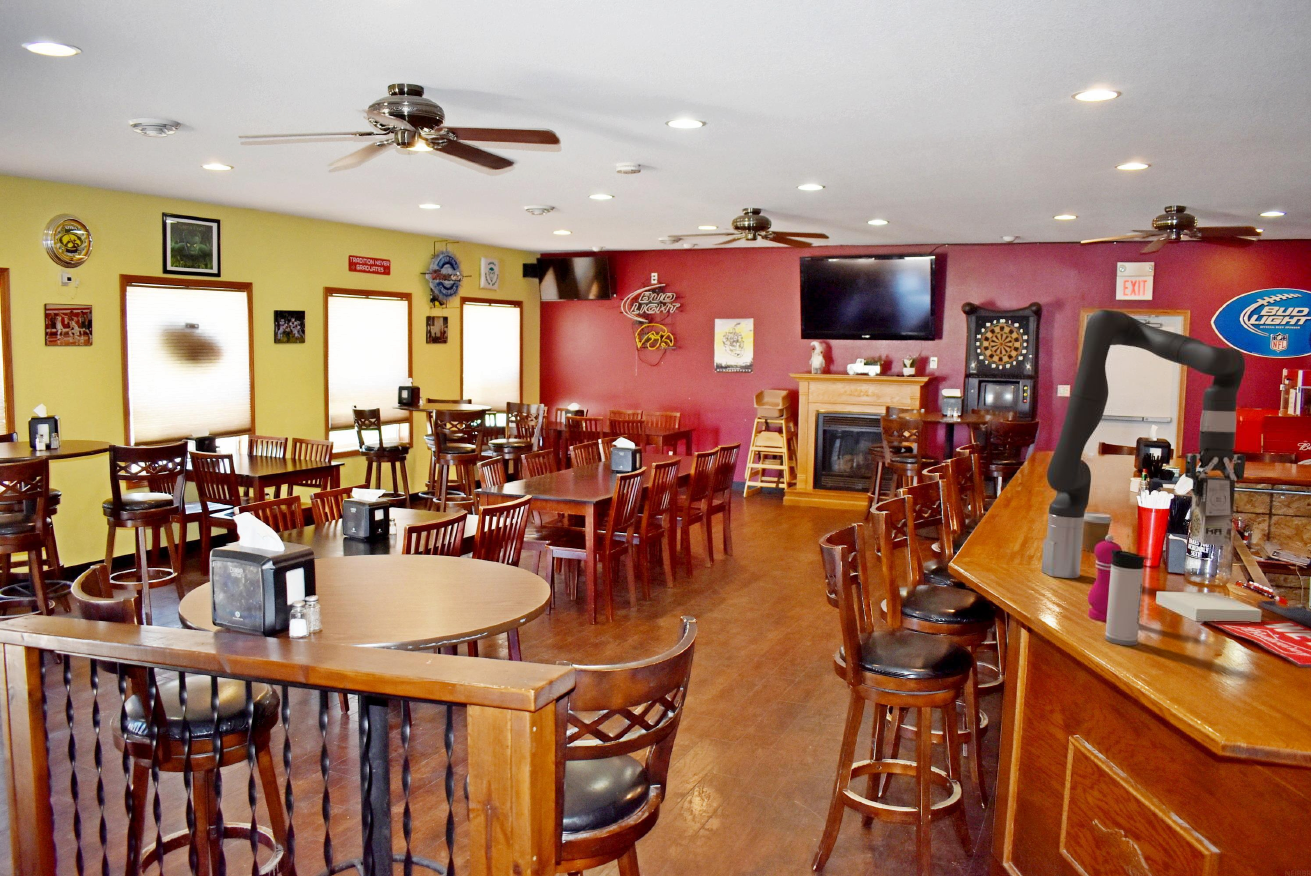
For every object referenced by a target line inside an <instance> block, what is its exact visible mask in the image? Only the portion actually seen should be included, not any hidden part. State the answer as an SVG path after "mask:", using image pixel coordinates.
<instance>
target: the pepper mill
mask: <svg viewBox="0 0 1311 876" xmlns="http://www.w3.org/2000/svg"><path fill="white" fill-rule="evenodd" d="M1114 539H1115V538H1114V536H1113V535H1111V534H1108V535H1107V536H1106V538H1105V540H1106V541H1103V542H1100V543H1098V544H1097V545H1096V547H1095V550H1094V556H1095V558H1096V561H1095V566H1094V567H1096V569H1097V573H1096V579H1095V581H1094V584H1093V585H1092V587H1091V588H1090V589H1089V593H1088V595H1087V602H1088V603H1089V605H1090V606H1091V608H1089V609H1088V617H1089V618H1090V619H1092V620H1095V621H1098V622H1099V621H1100V622H1107V610H1108V597H1109V585H1110V573H1111V564H1112V553H1111V551H1112V550H1120V551H1123V548H1122V547H1121V545H1119V544H1118V543H1117V542H1115V541H1114Z"/></svg>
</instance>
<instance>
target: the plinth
mask: <svg viewBox="0 0 1311 876" xmlns="http://www.w3.org/2000/svg"><path fill="white" fill-rule="evenodd" d="M1155 604H1157V605H1159V606H1161V607H1164V608H1165V609H1167V610H1170V611H1172V612H1174V613H1177V614H1178V615H1181V616H1183V617H1186V618H1188V619H1190V620H1192V621H1195V622H1204V621H1215V620H1217V621H1251V622H1261V621H1262V609H1260V608H1257V607H1255V606H1252V605H1249V604H1247V603H1245V602H1241V601H1239V600H1236V599H1234V598H1231V597H1229V596H1226V595H1224V594H1222V593H1219V592H1198V591H1197V592H1192V591H1189V592H1188V591H1156V597H1155Z"/></svg>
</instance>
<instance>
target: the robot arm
mask: <svg viewBox="0 0 1311 876" xmlns="http://www.w3.org/2000/svg"><path fill="white" fill-rule="evenodd" d="M1117 345H1119V346H1126V347H1127V346H1128V347H1135V348H1138V349H1143V350H1144V351H1148V352H1150V353H1152V354H1153V355H1156V356H1157V357H1159V358H1161V359H1164V360H1167V361H1170V362H1173V363H1177V364H1179V365H1181V366H1186V367H1189V368H1190V369H1192V370H1194V371H1197V372H1199V373H1202V374H1204V375H1207V376H1210V377H1211V376H1212V377H1213V380H1212V383H1211V386H1208V387H1207V388H1205V390H1204V392H1203V398H1202V400H1203V401H1202V411H1201V416H1200V423H1199V425H1200V426H1199V437H1198V438H1199V439H1198V447H1199V451H1198V453H1186V454H1185V465H1184V467H1185V468H1184V470H1185V471H1184V476H1185V478H1188V479H1191V480H1192V490H1191V491H1192V493H1194V496H1198V497H1201V496H1202V492H1203V482H1202V480H1203V479H1204V477H1205V476H1207V475H1208V474H1209V473H1210V472H1215V471H1218V472H1220V473H1221V474H1222V477H1224V478H1228V479H1232V480H1236V481H1235V483H1236V482H1237V481H1238V480H1239V481H1240V480H1243V479H1244V478H1245V470H1246V459H1247V456H1246V455H1245V454H1237V453H1236V454H1234V452H1233V450H1234V449H1235V446H1236V432H1237V399H1238V398H1237V395H1238V392H1239V390H1240V387H1241V385H1242V381H1243V378H1244V375H1245V370H1246V359H1245V357H1244V354H1243V353H1242V352H1241V350H1239V349H1237V348H1232V347H1220V346H1214V345H1210V344H1207V343H1204V342H1203V341H1202V340H1200V339H1197V338H1194V337H1191V336H1188V335H1184V334H1180V333H1177V332H1173V331H1169V330H1165V329H1161V328H1159V327H1158V328H1157V327H1155V326H1152V325H1149V324H1147V323H1144V322H1142V321H1140V320H1138V319H1136V318H1135V317H1132V316H1131V315H1129V314H1127V313H1125V312H1122V311H1118V310H1113V309H1112V310H1111V309H1099V310H1097V311H1095V312H1094V313H1092V314H1091V315H1090V317H1089V318H1088V320H1087V322H1086V326H1085V329H1084V335H1083V343H1082V349H1081V352H1080V353H1081V354H1080V359H1079V363H1078V366H1077V367H1078V368H1077V372H1076V376H1075V379H1074V382H1073V383H1074V384H1073V386H1072V390H1071V393H1070V397H1069V401H1068V404H1067V407H1066V413H1065V415H1064V420H1063V424H1062V426H1061V431H1060V434H1059V437H1058V442H1057V443H1056V447H1055V449H1054V452H1053V454H1052V457H1051V460H1050V462H1049V464H1048V467H1047V470H1046V480H1047V482H1048V485H1049V487H1050V488H1051V489H1052V490H1054V491H1056V495H1055V497H1054V499H1053V500H1052V501H1051V502H1050V504H1049V507H1048V516H1047V517H1048V518H1047V530H1046V531H1047V534H1046V538H1044V539H1043V546H1042V556H1041V557H1042V558H1041V560H1042V561H1041V569H1040V570H1041V572H1042V573H1043V574H1045V575H1048V576H1050V577H1056V578H1065V579H1077V578H1079V577H1080V573H1081V563H1082V562H1081V559H1082V551H1083V547H1082V538H1083V526H1084V513H1085V512H1086V509H1087V507H1088V505H1089V499H1090V493H1091V483H1092V474H1091V473H1092V472H1091V469H1090V466H1089V465H1088V464H1087V462H1086V461H1084V460H1083V459H1082V455H1083V452H1084V449H1085V448H1086V447H1085V446H1086V445H1087V442H1088V441H1089V439H1090V437H1092V435H1094V432H1095V430H1096V429H1097V428H1098V426H1099V424H1100V423H1101V420H1102V419H1103V416H1104V413H1105V409H1106V405H1107V402H1108V398H1109V385H1108V378H1107V372H1106V363H1107V359H1108V356H1109V351H1110V348H1111V346H1117ZM1198 462H1199V463H1198ZM1197 463H1198V465H1197ZM1231 463H1233V466H1232V465H1231Z"/></svg>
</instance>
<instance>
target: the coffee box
mask: <svg viewBox="0 0 1311 876" xmlns="http://www.w3.org/2000/svg"><path fill="white" fill-rule="evenodd" d="M1235 481H1236V480H1232V479H1228V478H1225V477H1224V476H1220V475H1217V476H1216V475H1206V476H1205V477H1204V479H1203V480H1202V482H1203V492H1202V496H1201V497H1198V496H1194V493H1193V492H1192V495H1191V497H1192V498H1191V511H1190V512H1191V514H1190V515H1191V516H1190V528H1189V539H1191V540H1193V541H1195V542H1198V543H1199V544H1202V545H1206V546H1207V545H1208V546H1209V545H1211V546H1224V547H1230V546H1231V541H1232V528H1233V516H1234V505H1235V504H1234V501H1235V490H1236V489H1235V488H1236V482H1237V481H1236V482H1235Z"/></svg>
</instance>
